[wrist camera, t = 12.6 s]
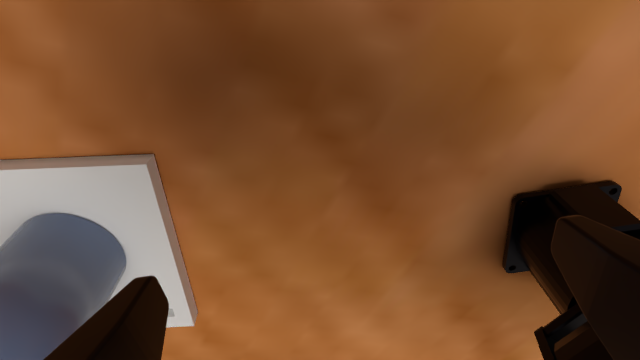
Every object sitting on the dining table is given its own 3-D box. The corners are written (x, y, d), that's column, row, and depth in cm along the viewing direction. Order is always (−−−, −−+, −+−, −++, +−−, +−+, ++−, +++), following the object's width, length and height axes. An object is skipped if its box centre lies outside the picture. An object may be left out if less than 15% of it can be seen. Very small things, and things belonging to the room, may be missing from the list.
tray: (153, 153, 21) (146, 164, 20) (197, 312, 28) (194, 325, 27) (-90, 163, 21) (-110, 174, 20) (15, 321, 28) (4, 335, 27)
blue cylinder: (148, 261, 24) (21, 521, 14) (83, 302, 26) (-74, 562, 15) (58, 194, 22) (-196, 459, 11) (-7, 246, 23) (-282, 517, 12)
